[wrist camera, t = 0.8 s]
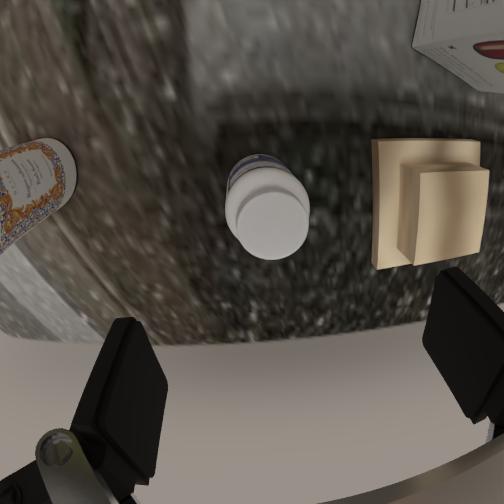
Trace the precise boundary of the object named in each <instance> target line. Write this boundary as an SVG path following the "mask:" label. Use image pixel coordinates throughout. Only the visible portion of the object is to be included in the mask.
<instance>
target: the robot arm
mask: <svg viewBox="0 0 504 504" xmlns="http://www.w3.org/2000/svg"><path fill="white" fill-rule="evenodd" d="M422 342H423V346H424V348H425V349H426V351H427V353H428V354H429V356H430V357H431V359H432V360H433V362H434V364H435V365H436V367H437V368H438V370H439V372H440V373H441V375H442V377H443V378H444V380H445V382H446V383H447V385H448V387H449V388H450V390H451V392H452V393H453V395H454V397H455V399H456V400H457V402H458V404H459V405H460V407H461V409H462V411H463V413H464V414H465V416H466V417H467V418H470V419H471V421H472V423H473V424H476V423H478V422H480V421H482V420H484V419H485V418H486V417H487V416H488V417H489V419H490V424H489V429H488V435H487V440H486V444H484V445H482V446H481V447H478V448H477V449H475V450H473V451H471V452H469V453H467V454H465V455H463V456H461V457H459V458H457V459H455V460H453V461H450V462H448V463H446V464H444V465H441V466H439V467H437V468H434V469H432V470H430V471H427V472H425V473H422V474H420V475H417V476H414V477H412V478H409V479H406V480H403V481H401V482H398V483H395V484H392V485H389V486H386V487H383V488H379V489H376V490H373V491H369V492H366V493H362V494H358V495H354V496H351V497H346V498H342V499H338V500H333V501H329V502H324V503H318V504H504V312H503V311H502V310H501V309H500V308H499V307H498V306H497V305H496V304H495V302H494V301H493V300H492V299H491V298H490V297H489V296H488V295H487V294H486V293H484V292H483V291H482V290H481V289H480V288H479V287H478V286H477V285H476V284H475V283H474V282H473V281H472V280H471V279H470V278H469V277H468V276H467V275H466V274H465V273H463V272H462V271H461V270H460V269H459V268H458V267H452V268H448V269H443V270H441V271H440V273H439V275H438V276H437V277H436V279H435V285H434V290H433V295H432V299H431V304H430V309H429V313H428V317H427V321H426V326H425V330H424V333H423V338H422ZM167 392H168V383H167V379H166V377H165V375H164V373H163V370H162V368H161V366H160V364H159V362H158V360H157V357H156V355H155V353H154V351H153V348H152V346H151V344H150V342H149V339H148V337H147V335H146V332H145V330H144V327H143V325H142V323H141V322H140V321H136V319H135V318H134V317H126V318H116V319H115V320H114V322H113V324H112V326H111V328H110V330H109V333H108V335H107V337H106V339H105V342H104V344H103V346H102V348H101V351H100V353H99V355H98V358H97V360H96V362H95V365H94V367H93V369H92V372H91V374H90V377H89V379H88V382H87V384H86V387H85V389H84V392H83V394H82V397H81V399H80V402H79V404H78V407H77V410H76V412H75V415H74V418H73V420H72V423H71V427H70V430H66V429H63V428H58V429H53V430H50V431H48V432H47V433H46V434H44V435H43V436H42V438H41V439H40V440H39V441H38V444H37V446H36V450H35V456H36V460H35V461H33V462H31V463H30V464H28V465H26V466H25V467H23V468H21V469H20V470H18V471H16V472H14V473H13V474H11V475H9V476H7V477H6V478H4V479H2V480H1V481H0V504H141V503H140V502H139V500H138V499H137V498H136V496H135V495H134V493H133V492H134V486H135V484H138V485H149V478H152V477H153V476H154V474H155V468H156V461H157V454H158V447H159V440H160V433H161V427H162V421H163V415H164V409H165V403H166V397H167Z"/></svg>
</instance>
